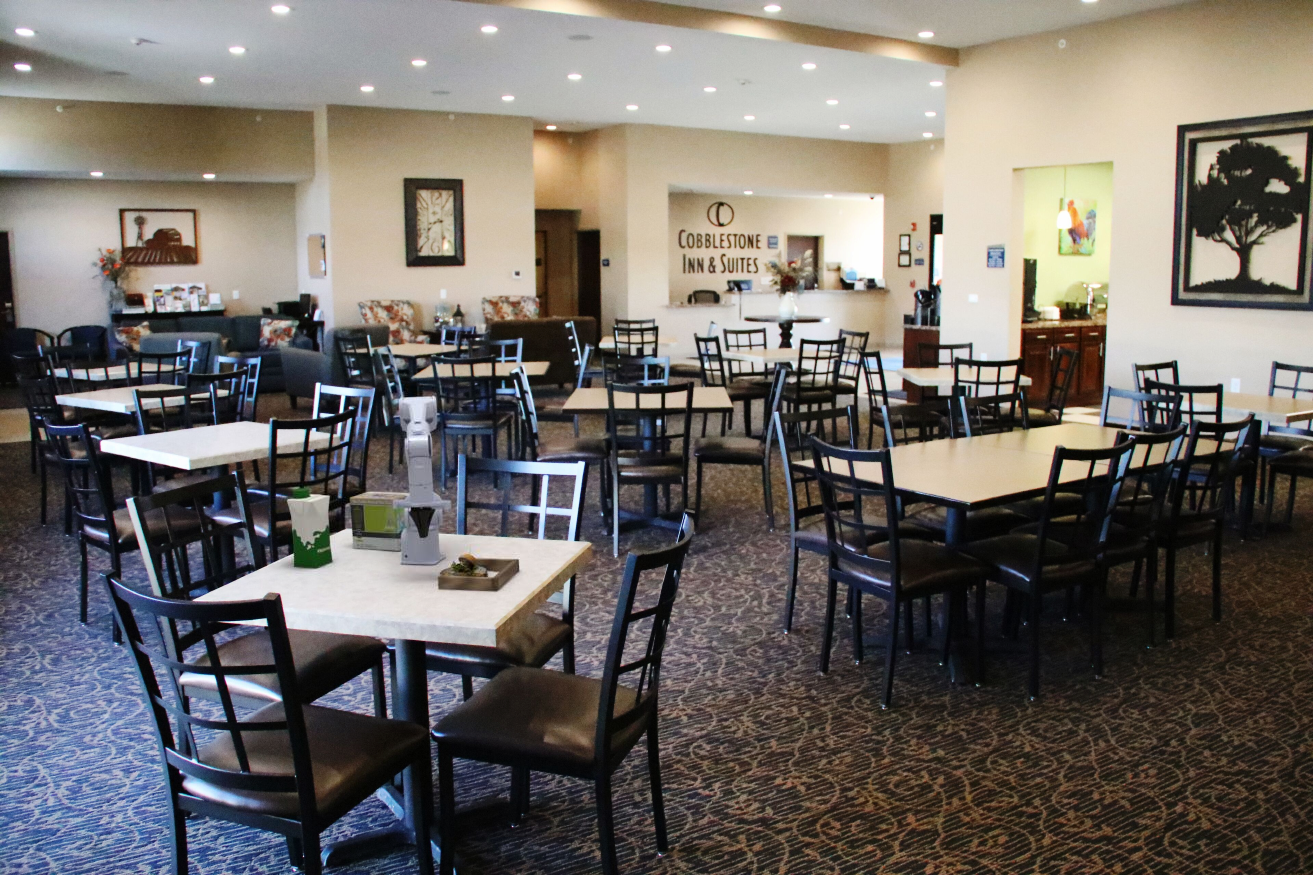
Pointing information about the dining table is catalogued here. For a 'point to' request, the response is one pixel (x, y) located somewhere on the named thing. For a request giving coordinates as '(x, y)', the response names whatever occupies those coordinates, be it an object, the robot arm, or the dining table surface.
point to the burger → (465, 568)
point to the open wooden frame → (504, 567)
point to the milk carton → (310, 528)
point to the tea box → (377, 520)
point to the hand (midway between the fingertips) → (423, 537)
